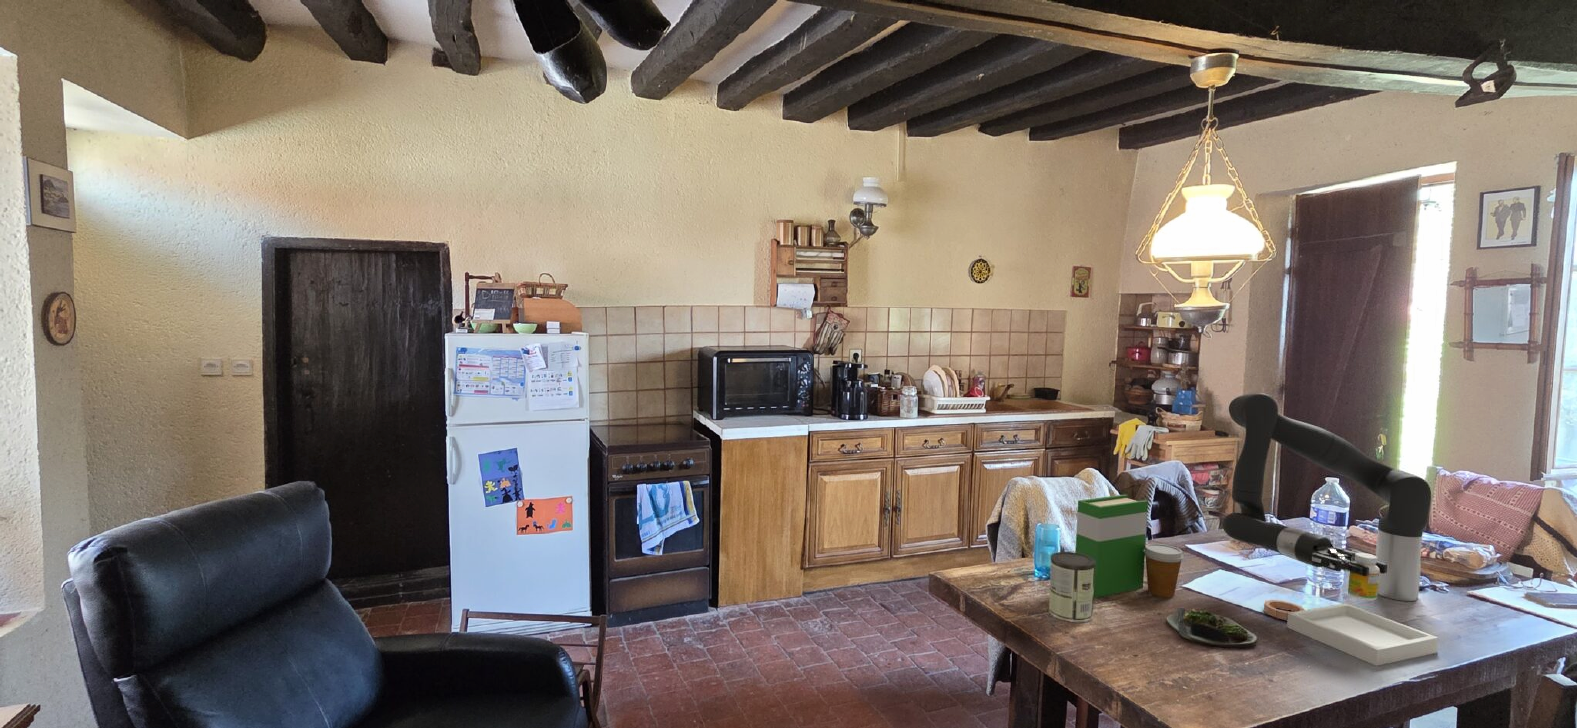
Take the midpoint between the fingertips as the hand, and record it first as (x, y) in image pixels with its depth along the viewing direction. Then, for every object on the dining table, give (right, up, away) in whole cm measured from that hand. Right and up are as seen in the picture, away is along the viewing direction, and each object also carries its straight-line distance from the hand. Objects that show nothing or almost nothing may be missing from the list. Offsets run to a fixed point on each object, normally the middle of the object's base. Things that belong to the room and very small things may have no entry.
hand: (1376, 570), depth 170 cm
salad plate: (-35, -17, +6) cm, 39 cm away
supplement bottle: (-1, -7, +3) cm, 8 cm away
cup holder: (-9, -16, +18) cm, 25 cm away
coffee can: (-64, -15, +15) cm, 67 cm away
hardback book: (-47, -14, +33) cm, 59 cm away
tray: (-1, -17, +4) cm, 17 cm away
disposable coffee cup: (-34, -14, +30) cm, 48 cm away
